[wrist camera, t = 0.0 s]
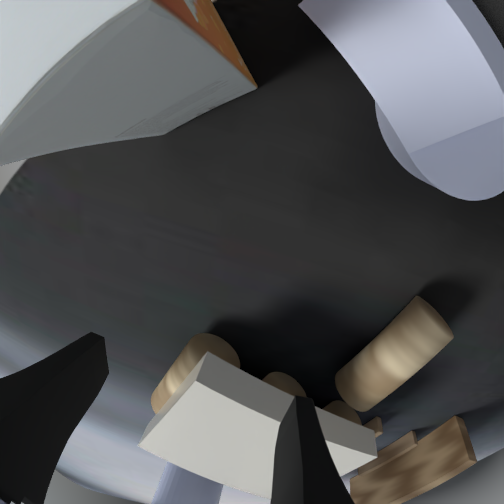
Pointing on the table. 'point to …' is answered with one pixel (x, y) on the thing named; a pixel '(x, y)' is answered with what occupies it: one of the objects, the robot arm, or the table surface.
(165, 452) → the slab
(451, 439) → the block
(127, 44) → the small box
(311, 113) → the table surface
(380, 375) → the roller
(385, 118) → the wedge on round base
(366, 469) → the roller track
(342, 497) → the robot arm
